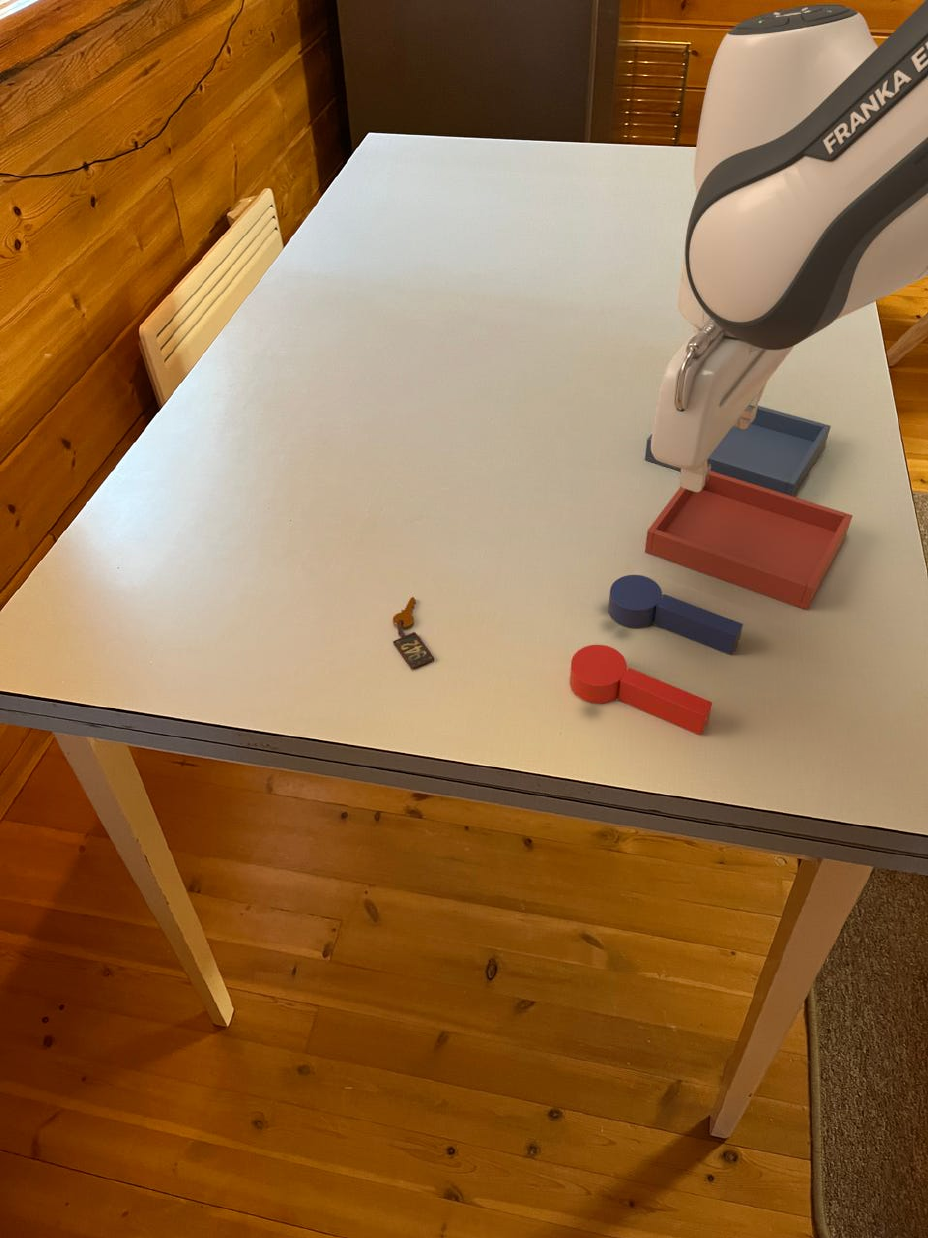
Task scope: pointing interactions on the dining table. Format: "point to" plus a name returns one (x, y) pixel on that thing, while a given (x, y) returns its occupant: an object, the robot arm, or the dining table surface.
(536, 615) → the dining table surface
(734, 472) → the blue tray
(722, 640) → the blue spoon
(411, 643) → the key tag
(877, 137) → the robot arm
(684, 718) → the red spoon
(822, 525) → the red tray
